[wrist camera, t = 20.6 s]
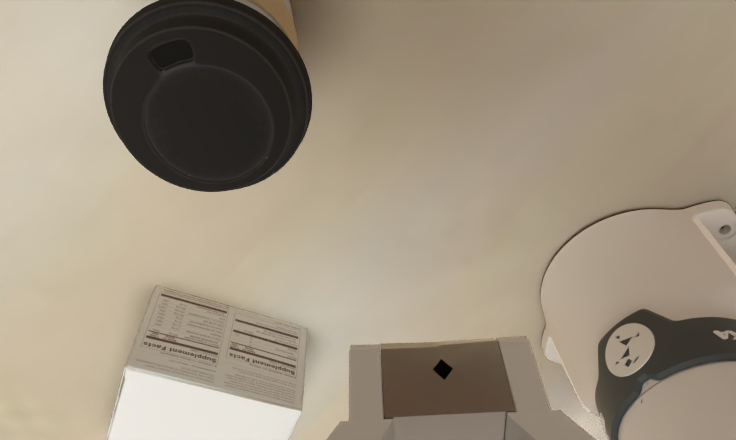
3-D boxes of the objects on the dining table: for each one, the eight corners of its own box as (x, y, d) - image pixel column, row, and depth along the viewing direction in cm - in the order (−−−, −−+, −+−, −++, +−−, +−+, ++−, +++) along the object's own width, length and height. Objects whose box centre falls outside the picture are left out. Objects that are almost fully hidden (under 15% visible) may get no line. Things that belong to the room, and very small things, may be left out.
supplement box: (253, 448, 65) (240, 540, 57) (116, 416, 62) (82, 509, 55) (311, 326, 57) (305, 414, 49) (155, 282, 54) (122, 368, 46)
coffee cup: (231, -104, 38) (174, -45, 26) (353, 11, 42) (354, 111, 30) (138, 17, 42) (48, 120, 30) (257, 113, 46) (223, 240, 33)
